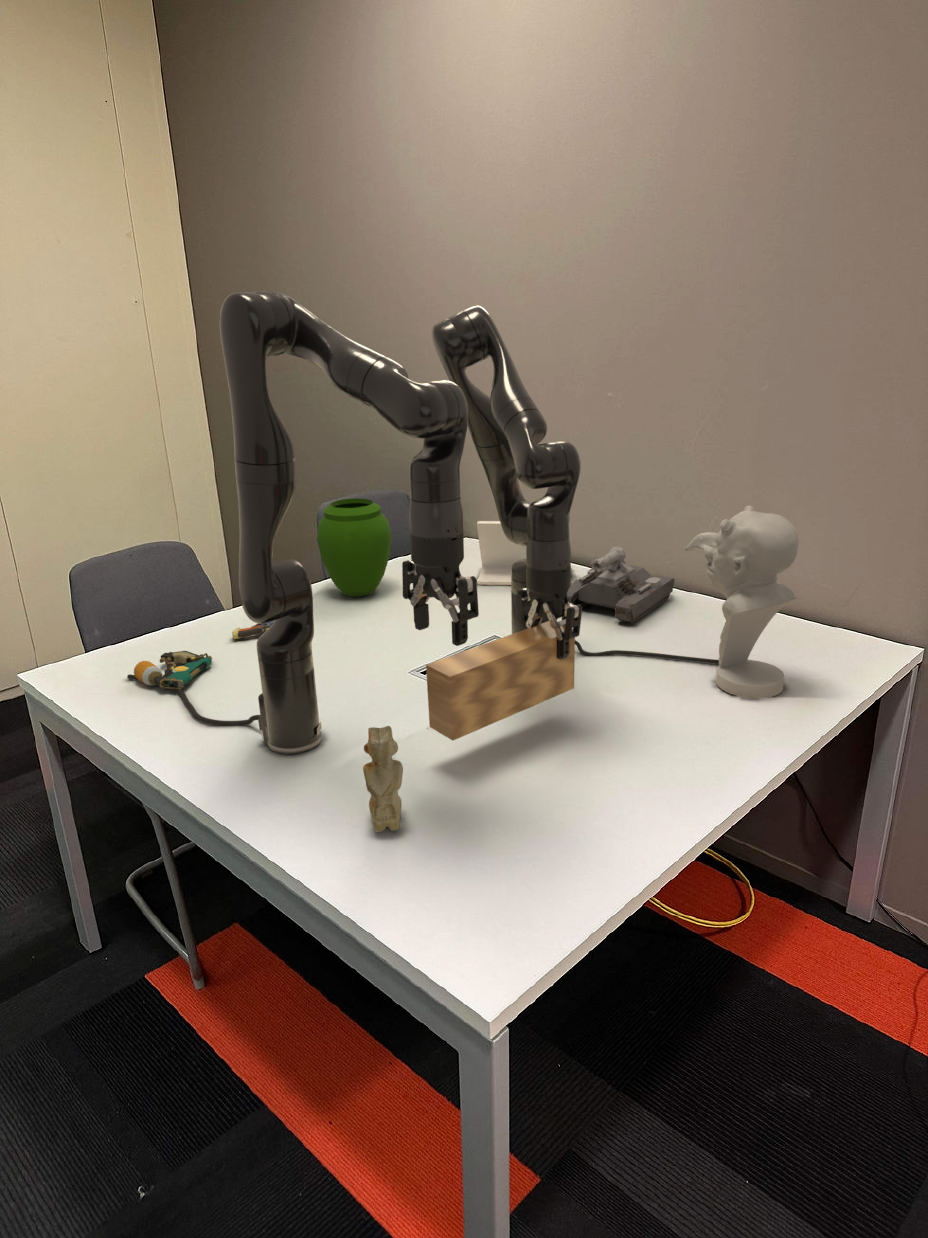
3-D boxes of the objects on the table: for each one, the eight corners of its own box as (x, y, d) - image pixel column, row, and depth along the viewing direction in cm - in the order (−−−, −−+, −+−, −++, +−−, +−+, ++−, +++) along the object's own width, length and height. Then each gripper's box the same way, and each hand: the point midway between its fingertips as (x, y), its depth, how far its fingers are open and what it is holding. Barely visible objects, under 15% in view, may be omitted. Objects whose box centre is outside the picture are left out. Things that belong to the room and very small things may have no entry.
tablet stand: (569, 585, 229) (570, 524, 223) (476, 584, 232) (475, 523, 226) (570, 566, 246) (571, 508, 240) (484, 564, 249) (483, 507, 243)
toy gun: (228, 631, 198) (268, 628, 196) (261, 608, 215) (298, 605, 213) (230, 642, 198) (270, 639, 196) (263, 618, 216) (300, 616, 214)
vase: (409, 587, 231) (404, 499, 223) (364, 609, 216) (357, 515, 208) (353, 577, 241) (346, 492, 233) (306, 597, 226) (297, 507, 218)
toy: (603, 584, 229) (605, 530, 224) (673, 597, 218) (677, 540, 213) (555, 612, 210) (556, 553, 205) (630, 627, 199) (633, 566, 194)
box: (549, 677, 157) (550, 620, 153) (574, 688, 153) (575, 629, 149) (429, 727, 142) (425, 664, 137) (452, 741, 137) (449, 677, 133)
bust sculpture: (717, 648, 186) (730, 489, 174) (806, 688, 166) (828, 512, 154) (660, 663, 179) (669, 500, 167) (745, 707, 159) (763, 525, 147)
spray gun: (177, 659, 191) (231, 671, 185) (120, 684, 176) (176, 698, 171) (176, 641, 190) (230, 653, 184) (118, 665, 175) (174, 678, 169)
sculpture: (406, 808, 131) (401, 721, 126) (405, 835, 125) (400, 745, 119) (368, 810, 131) (361, 723, 126) (365, 837, 124) (358, 747, 119)
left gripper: (384, 525, 122) (391, 630, 128) (449, 543, 112) (453, 657, 118) (425, 515, 127) (429, 617, 133) (490, 532, 117) (492, 642, 123)
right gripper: (503, 557, 148) (505, 646, 154) (562, 576, 137) (562, 671, 143) (535, 548, 152) (536, 635, 158) (595, 566, 141) (593, 658, 147)
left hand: (440, 636), depth 125 cm, fingers open, 8 cm apart
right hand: (548, 651), depth 151 cm, fingers closed on box, 6 cm apart
